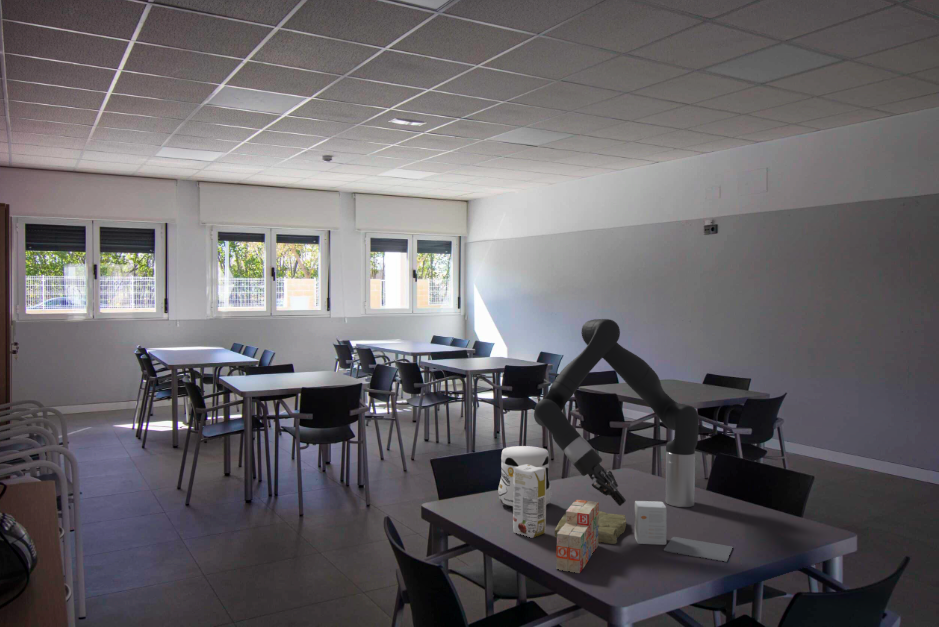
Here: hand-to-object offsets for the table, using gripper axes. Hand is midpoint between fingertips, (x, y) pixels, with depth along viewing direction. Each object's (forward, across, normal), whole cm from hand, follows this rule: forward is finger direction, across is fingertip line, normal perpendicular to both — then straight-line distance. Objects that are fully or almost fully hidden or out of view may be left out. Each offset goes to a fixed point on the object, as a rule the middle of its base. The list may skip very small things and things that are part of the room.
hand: (623, 503), depth 192 cm
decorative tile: (+1, +1, +14) cm, 14 cm away
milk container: (-19, +13, +32) cm, 40 cm away
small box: (+12, 0, +1) cm, 12 cm away
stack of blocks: (+3, -22, +11) cm, 24 cm away
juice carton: (-10, -11, +24) cm, 28 cm away
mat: (+21, 0, -8) cm, 23 cm away
